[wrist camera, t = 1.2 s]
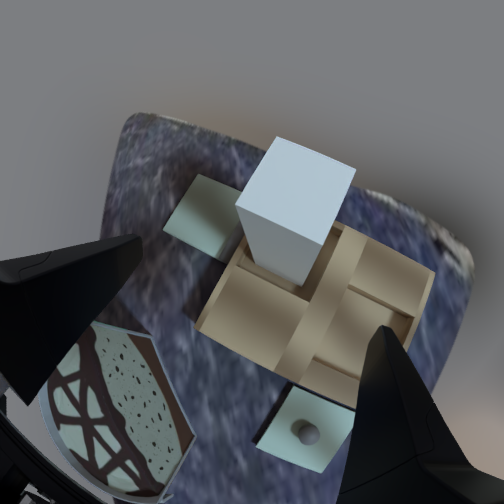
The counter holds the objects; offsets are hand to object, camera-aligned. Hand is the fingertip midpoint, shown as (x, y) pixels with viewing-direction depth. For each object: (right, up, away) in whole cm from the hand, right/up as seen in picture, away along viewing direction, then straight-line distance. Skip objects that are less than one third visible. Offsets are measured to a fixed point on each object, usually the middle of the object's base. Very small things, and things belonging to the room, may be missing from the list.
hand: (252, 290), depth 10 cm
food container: (-9, -11, +12) cm, 18 cm away
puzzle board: (+1, -4, +12) cm, 13 cm away
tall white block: (+3, +1, +13) cm, 13 cm away
